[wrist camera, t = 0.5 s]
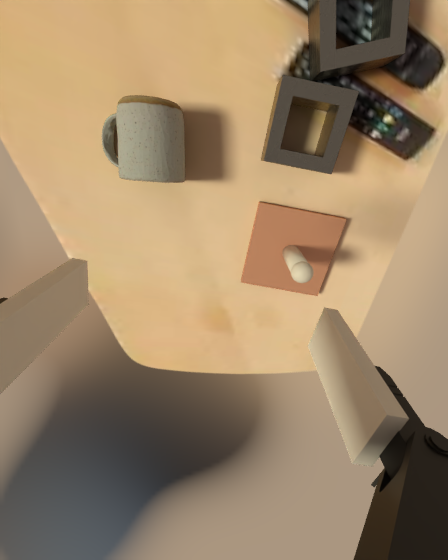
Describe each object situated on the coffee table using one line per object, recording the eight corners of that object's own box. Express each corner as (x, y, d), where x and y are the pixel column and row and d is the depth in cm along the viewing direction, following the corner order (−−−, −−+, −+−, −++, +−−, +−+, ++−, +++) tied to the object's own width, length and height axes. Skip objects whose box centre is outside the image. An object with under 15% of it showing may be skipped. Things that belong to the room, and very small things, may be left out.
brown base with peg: (259, 201, 35) (266, 215, 27) (344, 217, 36) (377, 236, 28) (241, 279, 41) (242, 311, 32) (315, 292, 41) (336, 327, 33)
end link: (277, 84, 30) (282, 75, 26) (344, 99, 30) (359, 91, 27) (260, 160, 33) (263, 160, 30) (321, 172, 34) (331, 174, 30)
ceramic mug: (189, 108, 31) (174, 93, 24) (190, 180, 35) (177, 186, 28) (102, 104, 32) (63, 89, 25) (112, 176, 35) (80, 181, 28)
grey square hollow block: (307, -14, 26) (318, -41, 23) (390, -35, 25) (416, -67, 22) (310, 82, 30) (320, 71, 26) (383, 66, 29) (404, 53, 25)
